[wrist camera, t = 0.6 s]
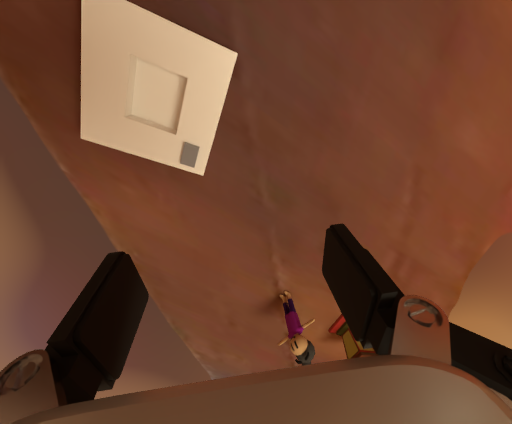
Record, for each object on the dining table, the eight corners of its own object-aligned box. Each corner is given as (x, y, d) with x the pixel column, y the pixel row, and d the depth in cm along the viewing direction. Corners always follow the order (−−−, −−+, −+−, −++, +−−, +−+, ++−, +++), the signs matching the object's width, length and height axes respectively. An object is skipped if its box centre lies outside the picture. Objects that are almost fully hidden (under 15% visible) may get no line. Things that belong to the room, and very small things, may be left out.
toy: (295, 278, 51) (318, 345, 38) (311, 288, 53) (337, 353, 41) (265, 303, 55) (277, 372, 42) (281, 311, 57) (296, 378, 44)
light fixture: (328, 330, 64) (395, 497, 38) (341, 313, 60) (425, 485, 35) (349, 332, 66) (427, 493, 40) (364, 317, 62) (458, 481, 37)
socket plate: (97, -11, 24) (78, -24, 21) (236, 56, 28) (237, 53, 25) (92, 133, 31) (78, 139, 28) (204, 168, 36) (202, 177, 32)
